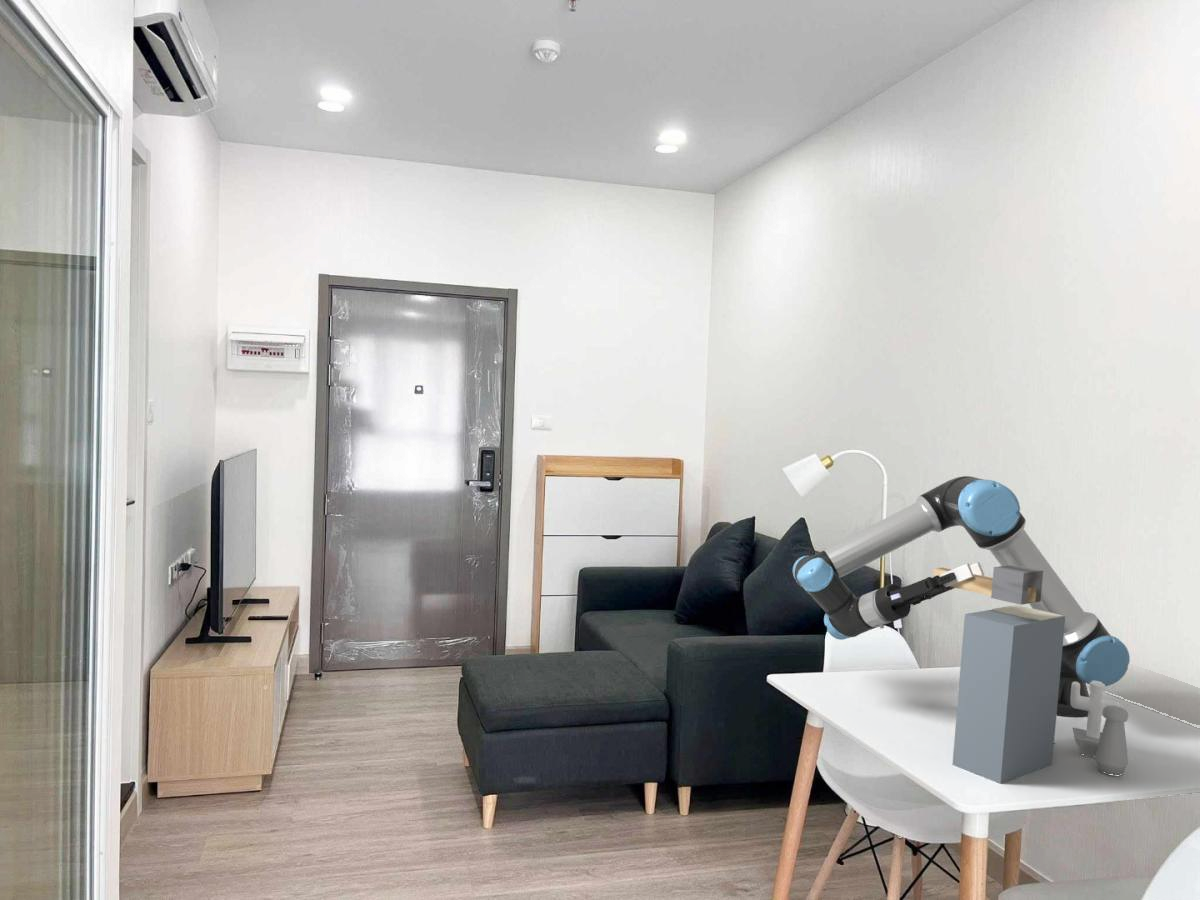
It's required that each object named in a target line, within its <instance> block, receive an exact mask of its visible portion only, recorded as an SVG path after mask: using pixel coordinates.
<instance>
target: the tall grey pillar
mask: <svg viewBox="0 0 1200 900" xmlns="http://www.w3.org/2000/svg"><path fill="white" fill-rule="evenodd" d="M1064 625H1065V616H1063V615H1059V614H1054V613H1050V612H1045V611H1041V610H1037V609H1033V608H1032V607H1028V606H1027V607H1026V606H1023V605H1020V604H1013V605H1010V606H1009V605H1008V606H1002V607H996V608H992V609H987V610H982V611H976V612H969V613H964V621H963V631H962V632H963V633H962V643H961V644H962V646H961V657H960V659H961V660H960V670H959V681H958V691H957V692H958V694H957V703H956V704H957V705H956V717H955V718H956V719H955V727H954V729H955V730H954V743H953V751H952V752H953V753H952V754H953V755H952V766H955V767H958V768H961V769H963V770H965V771H968V772H970V773H973V774H974V775H978V776H980V777H983V778H986V779H988V780H990V781H992V782H996V783H998V784H1000V785H1001V784H1003V783H1005V782H1008V781H1011V780H1014V779H1016V778H1018V777H1021V776H1024V775H1027V774H1030V773H1033V772H1035V771H1038V770H1041V769H1044V768H1045V767H1049V766H1051V765H1053V760H1054V759H1053V758H1054V757H1053V755H1054V746H1055V744H1054V743H1055V738H1056V737H1055V735H1056V725H1057V724H1056V723H1057V704H1058V693H1059V681H1060V670H1061V659H1062V648H1063V637H1064Z"/></svg>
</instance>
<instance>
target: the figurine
mask: <svg viewBox="0 0 1200 900" xmlns="http://www.w3.org/2000/svg"><path fill="white" fill-rule="evenodd" d="M1088 690H1089V697H1084V696H1080V683H1079V682H1073V683H1072V686H1071V697H1070V703H1071V706H1072V707H1073V708H1075V709H1081V710H1086V711H1088V715H1087V721H1086V722H1087V723H1086V729H1084V728H1083V729H1082V728H1080V727H1072V728H1071V729H1072V733H1073V737H1074V741H1075V744H1076V745H1077V747H1076V748H1077V750H1078V753H1079V755H1080V754H1084V755H1083V756H1085V755H1091V756H1095V754H1096V751H1097V748H1098V745H1099V741H1100V738H1101V735H1102V732H1101V723H1102V716H1103V710H1104V708H1105V707H1106V706H1118V707H1121V708H1122V705H1121V704H1120V702H1117V701H1114V700H1108V699H1104V694H1105V693H1106V686H1105V684H1103V683H1102V682H1100V681H1092V682H1090V684H1089V689H1088ZM1091 756H1090V757H1091Z"/></svg>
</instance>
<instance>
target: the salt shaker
mask: <svg viewBox="0 0 1200 900" xmlns="http://www.w3.org/2000/svg"><path fill="white" fill-rule="evenodd" d="M1102 716H1103V717H1104V719H1105V721H1104V725H1103V729H1102V732H1101V733H1102V735H1101V738H1100V741H1099V745H1098V748H1097V751H1096V754H1095V757H1094V761H1095V764H1096V765H1097V767H1098V769H1099V770H1100V771H1102V772H1105V773H1107V774H1113V775H1120V774H1122V773H1123V774H1124V772H1125V770H1126V769H1128V766H1129V756H1128V746H1127V737H1126V730H1125V729H1126V727H1125V722H1126V723H1127V720H1128V719H1129V712H1128V711H1127V710H1126V709H1125V708H1123V707H1122V706H1121V707H1118V706H1106V707H1105V708H1104V710H1103V713H1102ZM1100 771H1099V772H1100ZM1102 772H1101V773H1102ZM1105 773H1104V774H1105ZM1107 774H1106V775H1107ZM1123 774H1122V775H1123ZM1120 776H1121V775H1120Z"/></svg>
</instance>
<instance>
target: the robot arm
mask: <svg viewBox="0 0 1200 900" xmlns="http://www.w3.org/2000/svg"><path fill="white" fill-rule="evenodd" d="M1025 525H1026V518H1025V517H1024V516H1023V514H1022V513H1021V506H1020V502H1019V500H1018V497H1017V496H1016V494H1015V493H1014V492H1013V490H1011V489H1010V488H1009V487H1007V486H1006V485H1004V484H1002V483H1000V482H998V481H996V480H992V479H984V478H980V477H979V478H978V477H976V476H971V475H970V476H969V475H968V476H967V475H966V476H965V475H964V476H958V477H955V478H953V479H950V480H949V479H948V480H947V481H946V482H944V483H942V484H939V485H938V486H936V487H934V488H932V489H930V490H928V491H926V492H924V493H923V494H921V495H919V496H917V498H916V502H915V503H912V504H911V505H909V506H907V507H905V508H903V509H901V510H899V511H898V512H895V513H893V514H891V515H889V516H888V517H886V518H883V519H882V520H879V521H878V522H876V523H874V524H872V525H869V526H868V527H866V528H864V529H862V530H861V531H859V532H856V533H855V534H853V535H850V536H849V537H846V538H845V539H843V540H841V541H839V542H837V543H835V544H833V545H832V546H829V547H828V548H826V549H825V548H824V549H823V550H822V551H820V552H818V553H815V554H814V555H803V556H801V557H799V558H798V559H797V560H795V562H794V564H793V566H792V575H793V578H794V580H795V582H796V583H797V584H798V586H800V587H801V588H803V590H805V592H806V593H807V594H808V595H810V596H811V598H812V599H813V600H814V601H815V603H817V604H818V605H819V606H820V608H821V609H822V610H823V611H824V613H825V614H824V617H823V623H824V626H825V627H826V631H827V632H828V634H829V635H830V636H832V638H834V639H836V640H840V641H841V640H842V641H843V640H847V639H850V638H851V639H852V638H856V637H857V636H860V635H861V634H864V633H866V632H868V631H871V630H874V629H876V628H877V629H878V628H879V629H880V630H881V629H884V628H885V625H887V624H890V623H892V622H896V621H898V620H901V619H903V618H906V617H908V615H909V614H910V612H911V606H917V605H918V604H921V603H922V602H924V601H927V600H931V599H933V598H935V597H937V596H939V595H942V594H944V593H946V592H948V591H951V590H953V589H955V588H954V587H949V586H951V585H953V584H956V583H959V582H961V581H964V580H966V579H969V578H971V577H974V575H973V574H976V575H981V576H985V573H984V570H983V568H982V565H981V563H980V562H975V563H973V564H970V563H965V564H963V565H960V566H958V567H955V568H951V569H952V570H950V571H948V572H945V573H943V574H940V575H941V577H940V576H937V575H936V576H934V575H933V576H932V577H931V576H927V577H926V578H925V579H924V578H923V579H921V580H919V581H916V582H913V583H911V584H908V585H906V586H900V585H898V584H895V583H890V584H887V585H885V586H883V587H880V588H878V589H875V590H873V591H870V592H867V593H865V594H862V595H861V596H858V597H857V596H856V595H855V594H854V593H853V591H852V590H850V588H848V586H847V585H846V583H844V581H843V580H842V579H841V578H843V577H845V576H846V575H848V574H851V573H852V572H854V571H855V570H856V571H857V570H859V569H860V568H862V567H864V566H866V565H868V564H870V563H872V562H873V561H876V560H877V559H880V558H881V557H884V556H886V555H888V554H889V553H891V552H894V551H895V550H898V549H900V548H901V547H903V546H905V545H907V544H909V543H912V542H913V541H915V540H917V539H918V538H921V537H924V536H925V535H927V534H929V533H930V532H935V533H940V532H942V531H944V530H947V529H950V528H952V527H956V526H958V527H959V526H960V527H963V528H964V529H965V531H966V532H967V533H968V534H969V536H970V537H971V538H972V540H973V541H974V543H975V545H976V546H977V547H978V548H980V549H983V550H988V551H990V553H991V554H992V556H994V558H995V560H996V562H997V563H998V564H999V565H1000V566H1008V565H1017V566H1022V567H1027V568H1032V569H1038V570H1043V579H1042V591H1041V602H1035V603H1029V606H1030V608H1032V609H1037V610H1041V611H1045V612H1050V613H1054V614H1059V615H1063V616H1065V625H1064V637H1063V648H1062V659H1061V670H1060V681H1059V693H1058V704H1057V715H1058V716H1063V717H1085V715H1086V716H1088V711H1086V710H1081V709H1075V708H1073V707H1072V706H1071V703H1070V697H1071V686H1072V683H1073V682H1079V683H1080V696H1084V697H1089V696H1090V693H1089V691H1088V690H1089V689H1088V687H1087V685H1090V682H1092V681H1100V682H1102V683H1103V684H1105V687H1108V686H1112V685H1114V684H1116V683H1118V682H1119V681H1120V680H1121V679H1122V678H1123V677H1124V676H1125V675H1126V673H1127V671H1128V669H1129V668H1128V666H1129V664H1130V661H1131V660H1130V653H1129V650H1128V647H1127V646H1126V645H1125V643H1124V642H1122V641H1121V640H1120V638H1117V637H1116V636H1113V635H1111V634H1110V633H1109V632H1108V630H1107V628H1106V627H1105V626H1104V624H1103V623H1102V622H1101V621H1100V620H1099V617H1097V615H1096V614H1095V613H1093V612H1087V611H1084V609H1083V608H1082V607H1081V605H1080V604H1079V602H1078V601H1077V600H1076V598H1075V597H1074V596H1073V594H1072V593H1071V592H1070V591H1069V589H1068V588H1067V586H1066V585H1065V583H1064V582H1063V581H1062V579H1061V578H1060V576H1059V575H1058V574H1057V573H1056V571H1055V570H1054V569H1053V567H1052V566H1051V565H1050V563H1049V561H1048V560H1047V559H1046V558H1045V556H1044V555H1043V554H1042V552H1041V550H1040V549H1039V548H1038V546H1037V545H1036V544H1035V543H1034V541H1033V540H1032V538H1031V537H1030V536H1029V534H1028V533H1027V532H1026V530H1025ZM943 584H944V585H943ZM1057 715H1056V716H1057Z"/></svg>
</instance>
